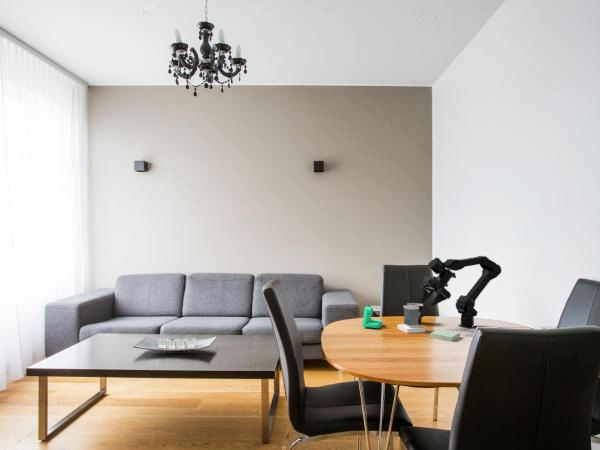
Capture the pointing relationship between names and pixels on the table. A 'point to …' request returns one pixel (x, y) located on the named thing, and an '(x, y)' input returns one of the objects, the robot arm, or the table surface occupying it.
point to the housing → (411, 316)
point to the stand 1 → (411, 329)
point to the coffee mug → (419, 311)
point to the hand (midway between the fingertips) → (426, 304)
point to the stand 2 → (445, 335)
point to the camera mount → (368, 321)
